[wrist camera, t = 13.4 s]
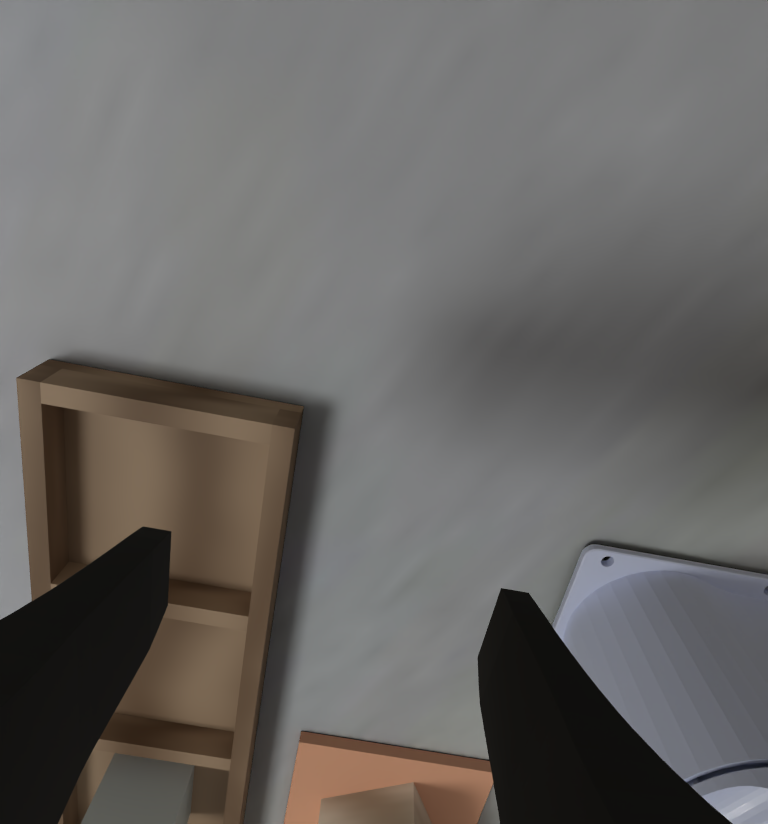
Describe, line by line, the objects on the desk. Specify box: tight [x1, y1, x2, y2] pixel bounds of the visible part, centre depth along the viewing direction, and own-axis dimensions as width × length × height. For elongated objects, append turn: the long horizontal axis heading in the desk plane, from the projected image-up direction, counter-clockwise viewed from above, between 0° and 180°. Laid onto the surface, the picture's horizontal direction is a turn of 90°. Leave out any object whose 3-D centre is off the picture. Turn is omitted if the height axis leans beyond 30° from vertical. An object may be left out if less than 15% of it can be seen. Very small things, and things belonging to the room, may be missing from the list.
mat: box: [284, 731, 493, 824], centre depth 31 cm, size 10×10×1 cm
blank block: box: [81, 753, 195, 824], centre depth 29 cm, size 4×4×4 cm
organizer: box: [16, 359, 304, 824], centre depth 27 cm, size 10×27×2 cm, turn 169°
